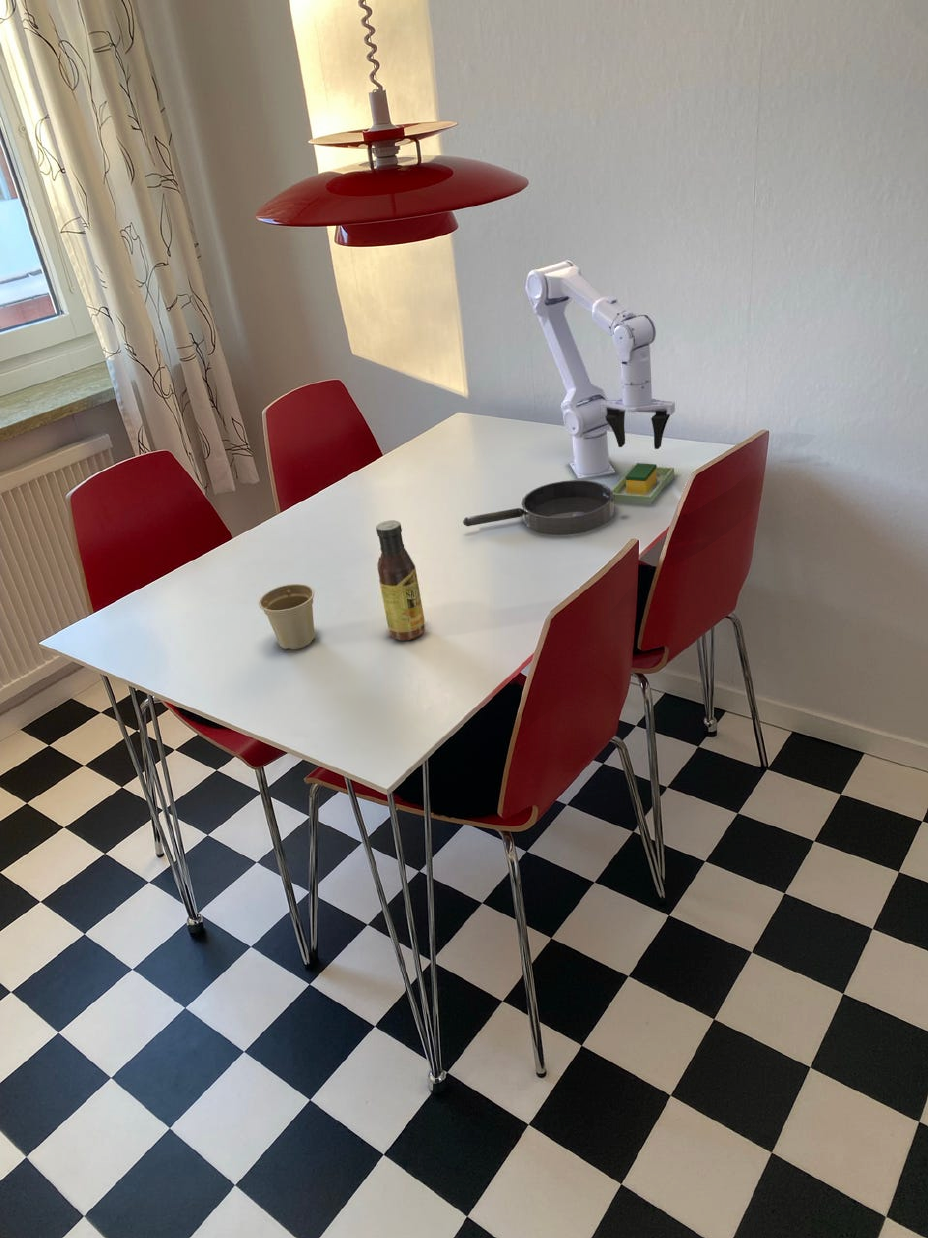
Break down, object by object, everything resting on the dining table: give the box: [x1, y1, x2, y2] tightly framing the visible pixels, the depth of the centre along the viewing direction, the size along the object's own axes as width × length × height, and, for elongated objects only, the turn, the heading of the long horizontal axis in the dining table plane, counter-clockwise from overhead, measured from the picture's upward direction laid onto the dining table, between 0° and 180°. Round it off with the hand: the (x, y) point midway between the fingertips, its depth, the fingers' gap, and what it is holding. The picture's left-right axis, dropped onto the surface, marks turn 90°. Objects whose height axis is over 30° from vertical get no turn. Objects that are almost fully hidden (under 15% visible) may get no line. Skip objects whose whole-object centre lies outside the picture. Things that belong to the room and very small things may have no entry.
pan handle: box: [462, 507, 523, 527], centre depth 195 cm, size 12×2×2 cm, turn 97°
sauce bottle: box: [375, 519, 426, 641], centre depth 161 cm, size 6×6×20 cm
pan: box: [520, 479, 615, 536], centre depth 196 cm, size 18×18×4 cm
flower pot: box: [258, 583, 316, 650], centre depth 167 cm, size 9×9×9 cm
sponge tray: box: [611, 464, 675, 505], centre depth 203 cm, size 15×9×2 cm, turn 152°
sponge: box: [625, 462, 658, 496], centre depth 202 cm, size 7×4×4 cm, turn 152°
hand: (639, 446), depth 199 cm, fingers open, 7 cm apart
